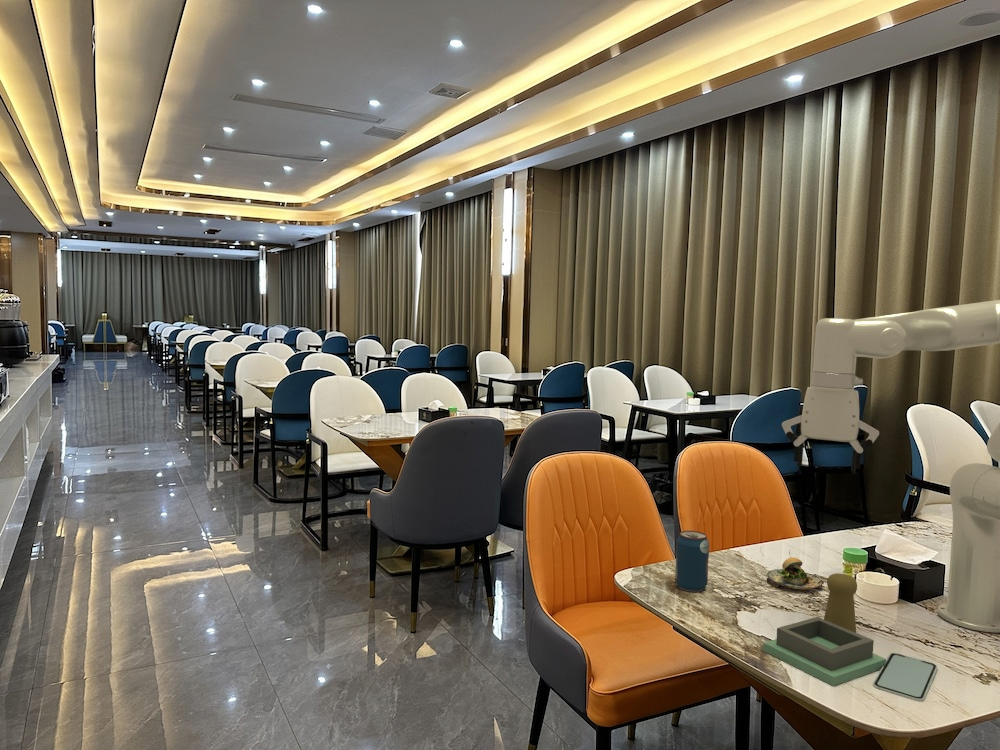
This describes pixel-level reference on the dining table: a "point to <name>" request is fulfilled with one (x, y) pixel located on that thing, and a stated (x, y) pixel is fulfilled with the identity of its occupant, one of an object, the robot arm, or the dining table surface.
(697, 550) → the soda can
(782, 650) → the socket board
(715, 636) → the dining table surface
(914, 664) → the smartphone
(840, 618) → the olive brown pawn
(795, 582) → the burger
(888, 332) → the robot arm
